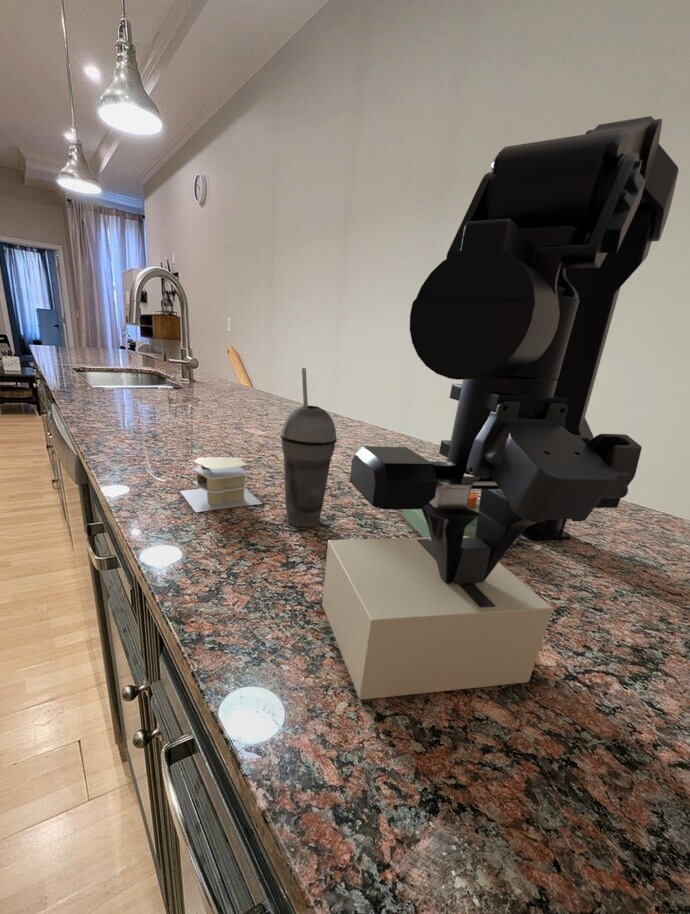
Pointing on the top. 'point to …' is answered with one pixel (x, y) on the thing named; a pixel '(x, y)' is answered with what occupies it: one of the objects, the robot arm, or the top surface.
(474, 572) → the toaster slider
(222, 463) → the stacked layers on plate
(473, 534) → the block
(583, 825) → the top surface
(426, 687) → the beige slider box
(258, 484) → the top surface
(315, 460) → the beverage cup
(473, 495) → the button
